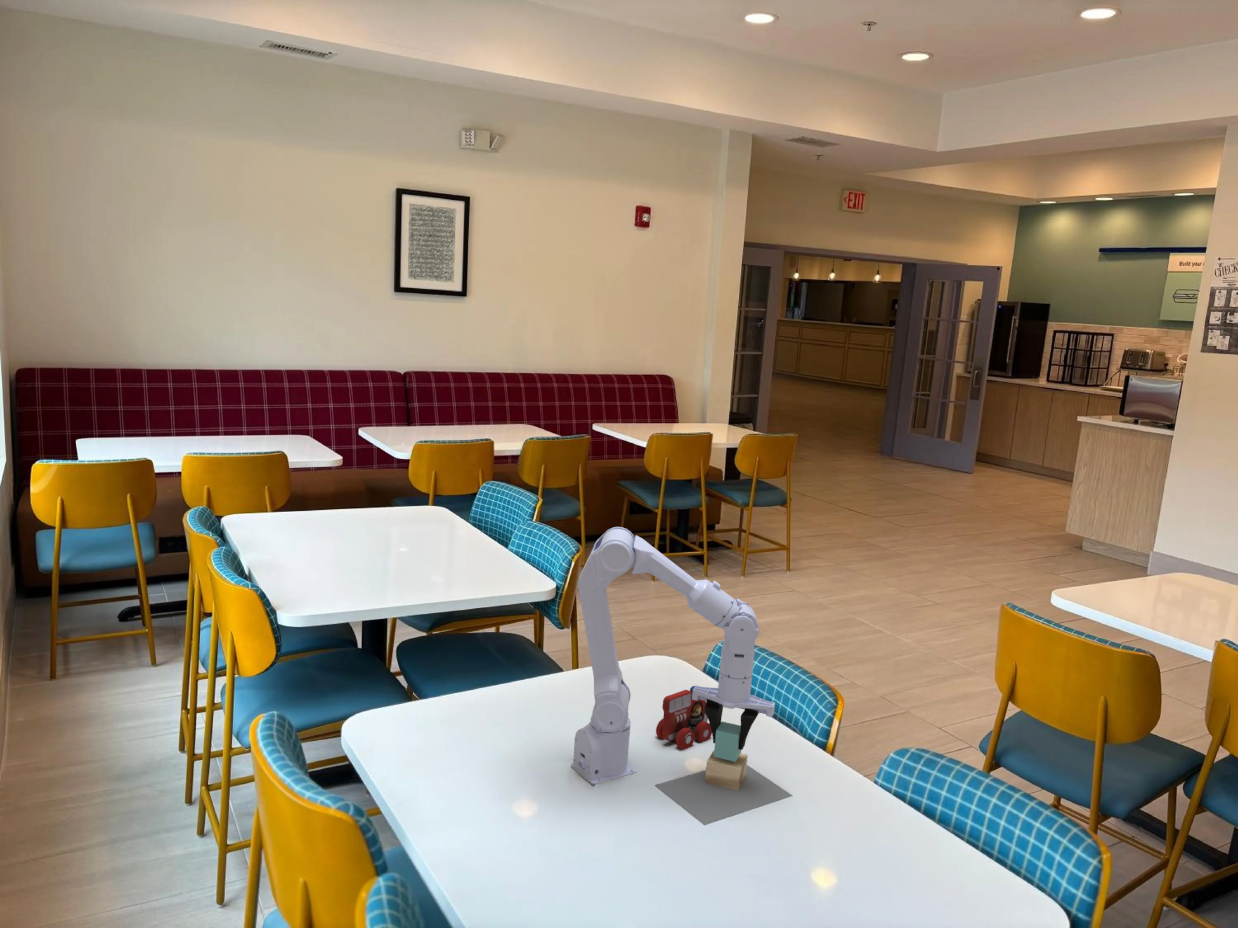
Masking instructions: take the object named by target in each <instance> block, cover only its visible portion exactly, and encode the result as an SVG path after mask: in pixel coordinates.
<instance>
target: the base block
mask: <svg viewBox="0 0 1238 928" xmlns="http://www.w3.org/2000/svg"><path fill="white" fill-rule="evenodd" d="M748 755H749V754H747V753H742V752H741V753H740V755H739V757H738V759H737V760H736V762H734V761H730V760H726V759H721V758H717V757H714V750H712V752H711V753H710V755H709V757H708V759H707V760H706V765H705V767H706V769H705V770H706V775H705V782H706V783H710V784H714V785H718V786H722V787H726V788H730V789H734V790H738V789H739V787H740V785H741V783H742V781H743V779H744V777H745V775H746V767H747V765H748V757H749V756H748Z"/></svg>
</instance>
